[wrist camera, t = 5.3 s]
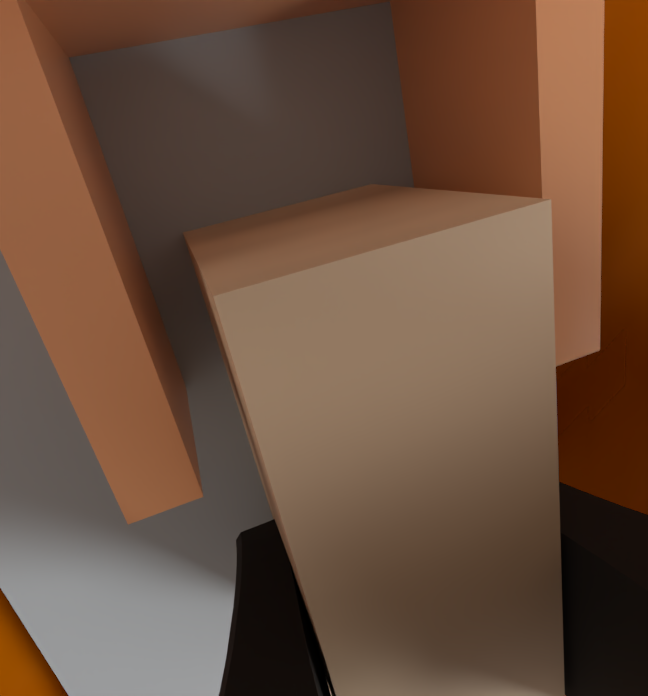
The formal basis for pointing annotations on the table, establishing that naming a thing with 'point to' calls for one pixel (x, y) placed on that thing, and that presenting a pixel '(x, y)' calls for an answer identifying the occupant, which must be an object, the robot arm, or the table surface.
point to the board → (179, 335)
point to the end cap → (426, 161)
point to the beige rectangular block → (404, 428)
